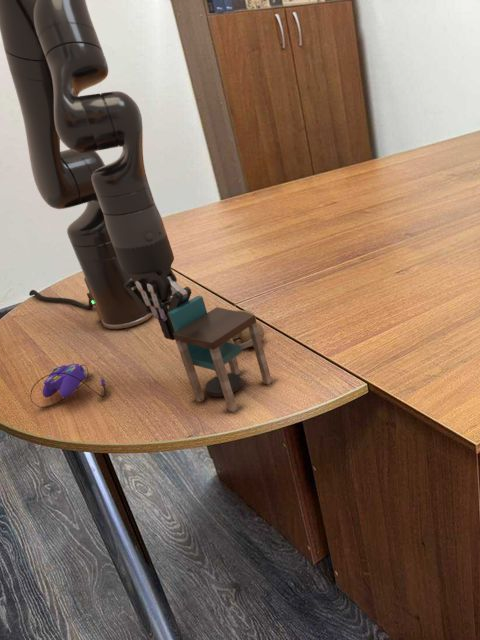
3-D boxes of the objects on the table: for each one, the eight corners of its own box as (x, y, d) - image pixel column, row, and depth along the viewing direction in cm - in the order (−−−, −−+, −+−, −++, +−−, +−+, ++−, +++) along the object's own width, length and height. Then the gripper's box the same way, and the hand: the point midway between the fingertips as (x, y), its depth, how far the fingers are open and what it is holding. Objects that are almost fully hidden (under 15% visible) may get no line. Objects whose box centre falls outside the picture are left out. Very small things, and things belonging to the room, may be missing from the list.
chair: (195, 392, 106) (167, 312, 98) (222, 373, 110) (197, 295, 102) (224, 400, 103) (198, 319, 95) (251, 381, 107) (228, 301, 100)
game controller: (11, 388, 103) (63, 348, 109) (49, 424, 107) (97, 383, 114) (35, 388, 97) (89, 345, 103) (74, 427, 101) (124, 383, 107)
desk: (196, 401, 104) (172, 333, 97) (236, 371, 111) (216, 306, 104) (233, 412, 101) (211, 343, 94) (272, 381, 107) (254, 315, 101)
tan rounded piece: (242, 305, 126) (269, 319, 114) (249, 328, 128) (277, 344, 116) (183, 324, 120) (206, 342, 109) (192, 348, 122) (215, 368, 110)
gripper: (190, 232, 97) (220, 333, 106) (130, 223, 102) (163, 319, 111) (149, 251, 91) (184, 356, 100) (87, 240, 97) (127, 340, 106)
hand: (173, 337), depth 106 cm, fingers closed
